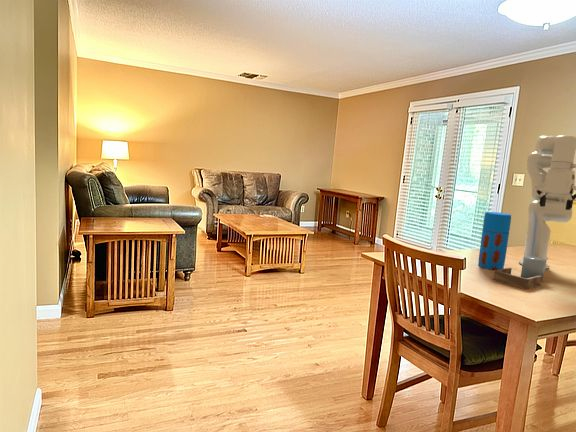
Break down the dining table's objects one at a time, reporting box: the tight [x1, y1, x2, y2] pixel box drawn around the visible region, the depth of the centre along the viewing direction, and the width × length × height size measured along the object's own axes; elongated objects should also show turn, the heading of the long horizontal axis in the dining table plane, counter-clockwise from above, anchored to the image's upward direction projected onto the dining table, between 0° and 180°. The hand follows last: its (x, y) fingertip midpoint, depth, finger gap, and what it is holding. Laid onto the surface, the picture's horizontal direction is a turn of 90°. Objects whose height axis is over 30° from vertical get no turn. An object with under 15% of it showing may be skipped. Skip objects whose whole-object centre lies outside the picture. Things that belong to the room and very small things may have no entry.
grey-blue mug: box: [520, 255, 548, 283], centre depth 173 cm, size 14×8×9 cm, turn 125°
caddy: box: [492, 267, 543, 290], centre depth 165 cm, size 12×13×4 cm
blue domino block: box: [477, 211, 512, 271], centre depth 187 cm, size 11×11×25 cm
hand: (554, 208), depth 170 cm, fingers open, 9 cm apart
